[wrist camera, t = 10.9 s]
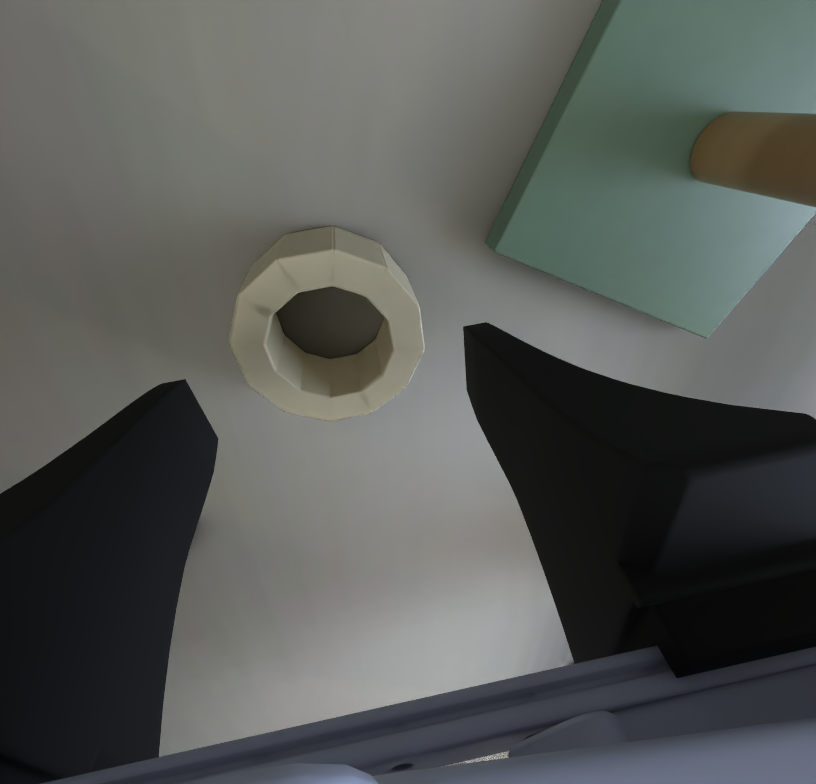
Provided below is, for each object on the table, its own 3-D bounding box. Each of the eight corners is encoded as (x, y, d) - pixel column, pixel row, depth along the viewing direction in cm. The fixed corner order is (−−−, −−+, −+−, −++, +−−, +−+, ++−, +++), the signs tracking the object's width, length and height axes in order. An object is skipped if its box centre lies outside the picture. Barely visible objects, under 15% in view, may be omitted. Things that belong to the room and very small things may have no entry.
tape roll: (435, 263, 14) (453, 291, 12) (379, 393, 17) (386, 434, 14) (264, 199, 12) (250, 219, 10) (233, 358, 15) (217, 399, 13)
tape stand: (932, 35, 12) (1281, -3, 8) (689, 327, 17) (815, 408, 13) (704, -211, 9) (1089, -532, 4) (483, 242, 14) (556, 311, 9)
